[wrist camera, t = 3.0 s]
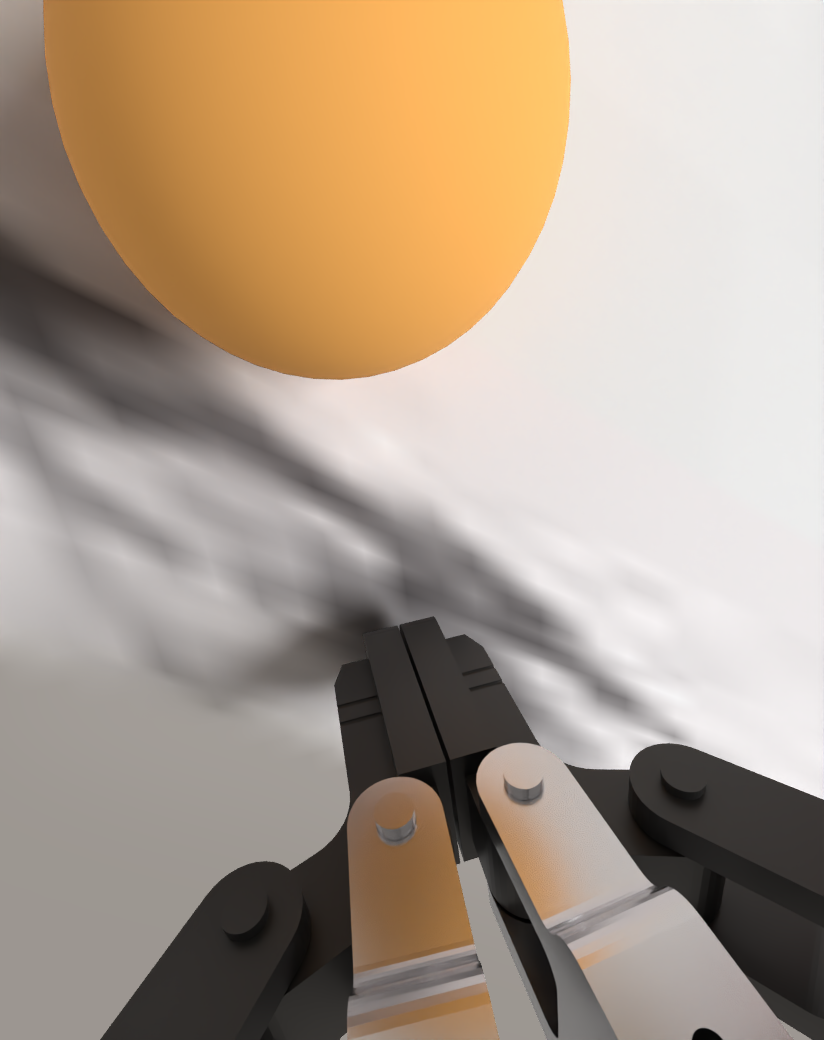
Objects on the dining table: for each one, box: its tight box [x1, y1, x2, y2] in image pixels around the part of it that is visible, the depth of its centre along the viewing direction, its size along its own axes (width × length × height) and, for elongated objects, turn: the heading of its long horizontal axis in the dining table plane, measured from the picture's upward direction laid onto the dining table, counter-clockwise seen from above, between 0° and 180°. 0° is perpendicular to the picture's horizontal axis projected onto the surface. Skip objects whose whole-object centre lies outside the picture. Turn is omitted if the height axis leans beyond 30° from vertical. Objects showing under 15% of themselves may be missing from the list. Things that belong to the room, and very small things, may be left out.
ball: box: [43, 0, 571, 380], centre depth 6 cm, size 6×6×6 cm
